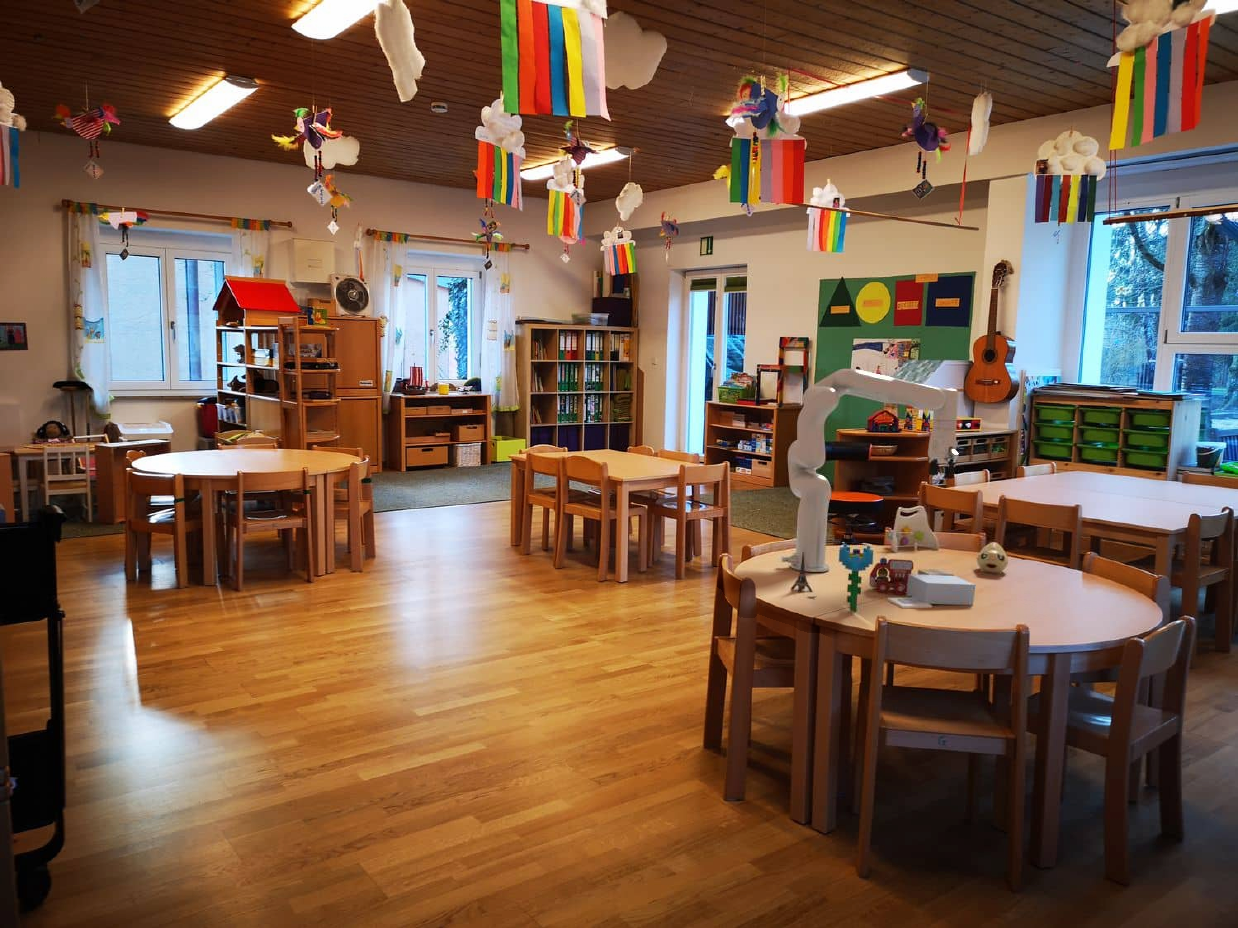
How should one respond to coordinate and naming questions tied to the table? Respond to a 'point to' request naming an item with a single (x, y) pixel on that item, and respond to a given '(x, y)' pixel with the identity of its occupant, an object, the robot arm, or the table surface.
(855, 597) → the toy flower
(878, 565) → the toy fire truck
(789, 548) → the table surface
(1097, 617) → the table surface
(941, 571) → the tan block
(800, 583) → the eiffel tower figurine
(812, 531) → the robot arm
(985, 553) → the yellow animal figurine
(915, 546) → the shape sorter
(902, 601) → the tile
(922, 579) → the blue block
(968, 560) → the table surface
